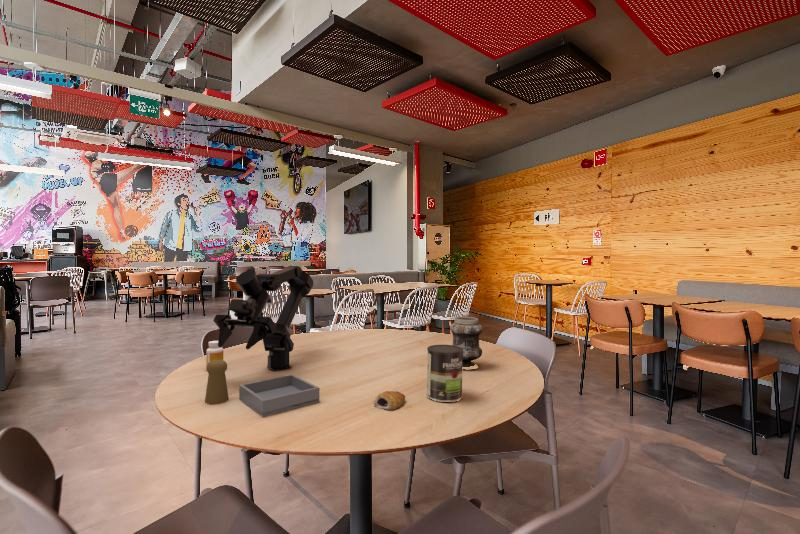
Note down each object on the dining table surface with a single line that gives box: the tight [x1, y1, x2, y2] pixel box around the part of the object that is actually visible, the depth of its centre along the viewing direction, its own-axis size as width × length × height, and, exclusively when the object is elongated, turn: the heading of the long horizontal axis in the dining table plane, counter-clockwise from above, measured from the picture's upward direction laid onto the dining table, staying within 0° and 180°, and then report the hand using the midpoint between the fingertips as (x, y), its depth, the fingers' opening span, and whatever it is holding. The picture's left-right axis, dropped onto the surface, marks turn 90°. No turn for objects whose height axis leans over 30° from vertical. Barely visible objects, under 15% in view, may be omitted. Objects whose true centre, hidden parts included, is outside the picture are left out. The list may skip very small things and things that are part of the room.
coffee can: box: [426, 344, 463, 403], centre depth 117 cm, size 10×10×14 cm
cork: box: [204, 359, 230, 405], centre depth 112 cm, size 6×6×11 cm
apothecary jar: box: [449, 316, 484, 367], centre depth 148 cm, size 12×12×18 cm
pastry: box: [373, 390, 406, 411], centre depth 111 cm, size 9×7×4 cm
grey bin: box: [238, 373, 320, 418], centre depth 112 cm, size 16×16×4 cm
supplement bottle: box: [205, 340, 224, 367], centre depth 141 cm, size 5×5×10 cm
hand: (232, 347), depth 118 cm, fingers open, 9 cm apart
